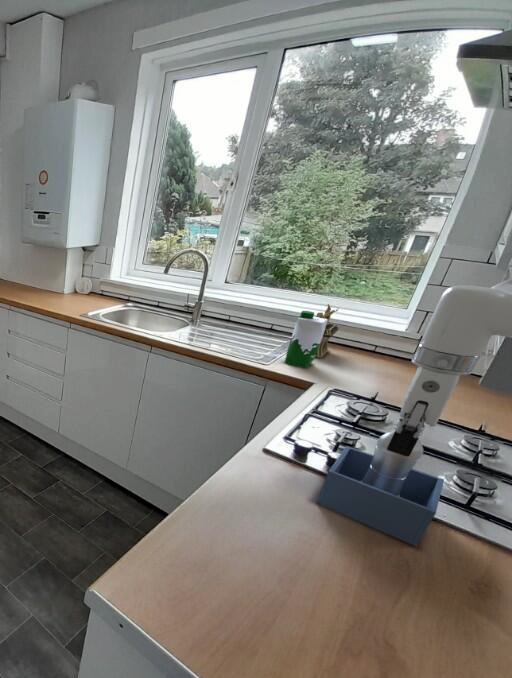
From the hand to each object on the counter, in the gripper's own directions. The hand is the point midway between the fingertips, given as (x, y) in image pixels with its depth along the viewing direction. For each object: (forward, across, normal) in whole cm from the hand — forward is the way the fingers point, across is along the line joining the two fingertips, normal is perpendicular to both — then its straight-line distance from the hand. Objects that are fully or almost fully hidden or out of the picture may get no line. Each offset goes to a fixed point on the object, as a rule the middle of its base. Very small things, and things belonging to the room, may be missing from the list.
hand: (401, 445), depth 78 cm
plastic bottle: (+15, 0, 0) cm, 15 cm away
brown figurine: (+15, +106, +36) cm, 113 cm away
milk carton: (+15, +84, +36) cm, 93 cm away
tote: (+15, 0, 0) cm, 15 cm away
